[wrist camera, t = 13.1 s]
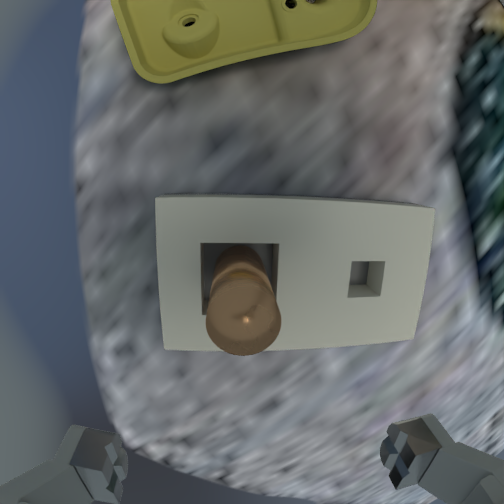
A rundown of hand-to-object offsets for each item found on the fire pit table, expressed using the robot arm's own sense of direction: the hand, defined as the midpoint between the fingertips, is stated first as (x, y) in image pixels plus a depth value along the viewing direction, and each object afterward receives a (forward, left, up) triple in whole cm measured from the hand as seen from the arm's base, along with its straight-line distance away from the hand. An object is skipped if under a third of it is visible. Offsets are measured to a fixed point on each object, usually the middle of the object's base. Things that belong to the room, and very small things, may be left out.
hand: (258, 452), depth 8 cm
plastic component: (-22, 0, -20) cm, 30 cm away
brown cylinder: (0, 0, -19) cm, 19 cm away
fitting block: (0, +5, -20) cm, 21 cm away
